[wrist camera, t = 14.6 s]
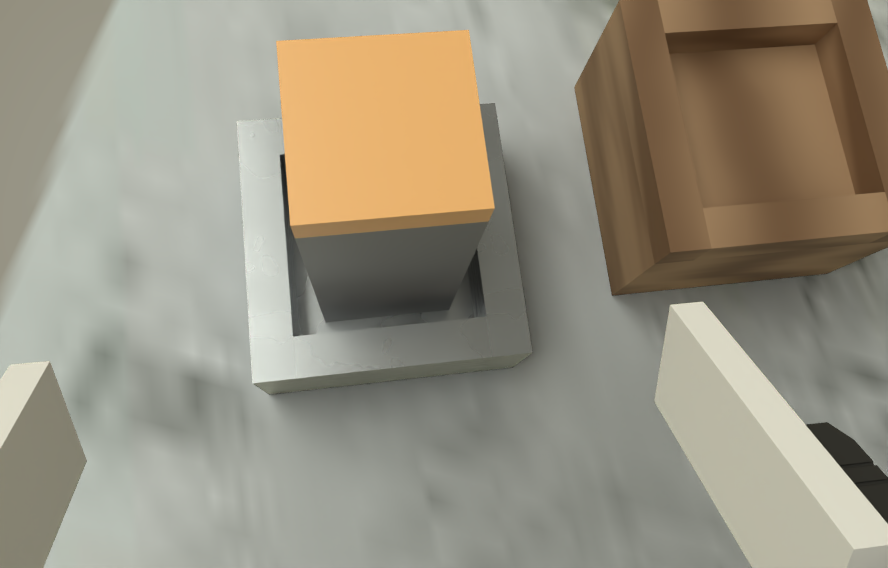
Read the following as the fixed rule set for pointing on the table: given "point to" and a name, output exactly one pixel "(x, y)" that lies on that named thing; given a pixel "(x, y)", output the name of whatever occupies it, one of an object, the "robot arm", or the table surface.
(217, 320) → the table surface
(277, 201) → the lower socket
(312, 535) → the table surface
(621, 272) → the upper socket
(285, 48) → the plug
